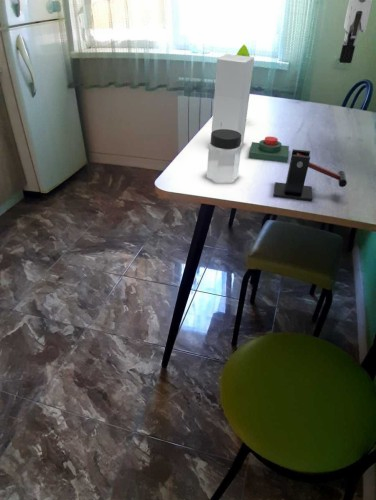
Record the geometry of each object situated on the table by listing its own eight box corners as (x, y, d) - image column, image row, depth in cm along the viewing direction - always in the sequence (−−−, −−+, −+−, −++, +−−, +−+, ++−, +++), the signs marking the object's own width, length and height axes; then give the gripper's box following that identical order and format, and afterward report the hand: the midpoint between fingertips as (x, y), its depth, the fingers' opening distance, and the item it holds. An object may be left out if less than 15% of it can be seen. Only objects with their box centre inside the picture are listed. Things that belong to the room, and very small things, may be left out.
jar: (243, 181, 116) (249, 136, 108) (220, 187, 113) (225, 141, 105) (223, 170, 122) (227, 126, 113) (201, 175, 118) (204, 131, 110)
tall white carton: (209, 149, 134) (216, 58, 117) (218, 141, 140) (226, 53, 123) (235, 153, 132) (246, 62, 115) (243, 145, 138) (254, 57, 121)
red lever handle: (341, 179, 109) (346, 171, 107) (343, 189, 105) (348, 180, 103) (292, 158, 108) (297, 149, 106) (292, 167, 104) (297, 158, 102)
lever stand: (310, 190, 114) (320, 150, 106) (311, 203, 108) (322, 161, 100) (274, 186, 115) (282, 146, 107) (273, 198, 109) (281, 156, 102)
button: (276, 143, 130) (278, 137, 129) (276, 147, 127) (277, 141, 126) (264, 141, 131) (265, 135, 130) (263, 145, 128) (264, 140, 127)
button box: (287, 152, 135) (290, 140, 132) (286, 164, 127) (289, 150, 125) (251, 148, 136) (252, 136, 133) (248, 159, 129) (250, 146, 126)
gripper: (385, -23, 98) (362, 68, 110) (376, -24, 108) (355, 58, 121) (353, -24, 98) (333, 66, 111) (347, -25, 109) (329, 57, 122)
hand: (345, 62), depth 116 cm, fingers closed
